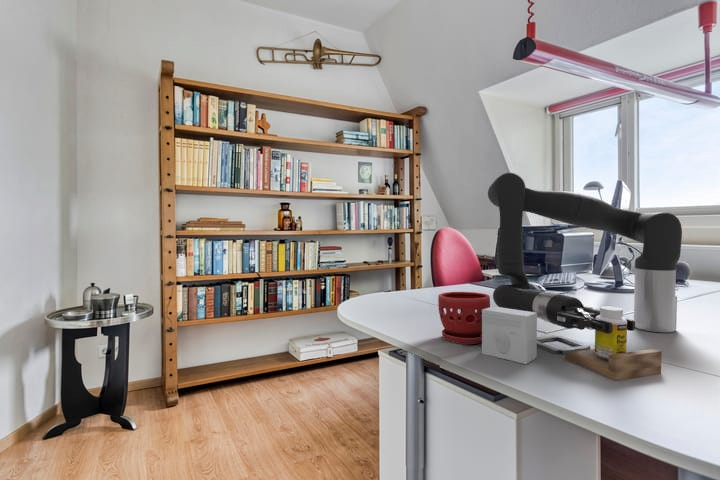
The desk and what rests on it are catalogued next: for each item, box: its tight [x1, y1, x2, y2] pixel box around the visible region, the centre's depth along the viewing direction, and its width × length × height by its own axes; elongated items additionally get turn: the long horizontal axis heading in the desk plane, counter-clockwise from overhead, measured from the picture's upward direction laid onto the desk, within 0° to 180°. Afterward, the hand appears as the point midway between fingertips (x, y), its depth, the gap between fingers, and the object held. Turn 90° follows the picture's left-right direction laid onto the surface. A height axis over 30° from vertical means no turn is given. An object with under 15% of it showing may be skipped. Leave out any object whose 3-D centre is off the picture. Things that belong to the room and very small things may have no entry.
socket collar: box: [537, 335, 591, 355], centre depth 92 cm, size 10×10×1 cm
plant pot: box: [437, 291, 491, 345], centre depth 98 cm, size 13×13×12 cm
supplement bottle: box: [594, 305, 628, 359], centre depth 79 cm, size 6×6×10 cm
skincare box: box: [481, 306, 538, 365], centre depth 86 cm, size 10×6×10 cm, turn 45°
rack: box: [564, 348, 662, 381], centre depth 79 cm, size 12×12×4 cm
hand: (622, 327), depth 76 cm, fingers closed on supplement bottle, 5 cm apart
